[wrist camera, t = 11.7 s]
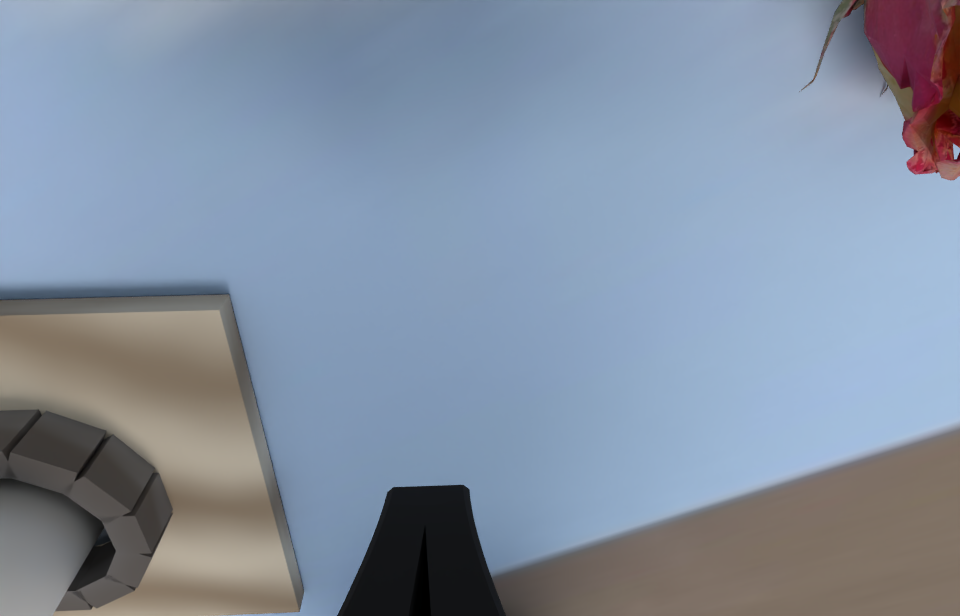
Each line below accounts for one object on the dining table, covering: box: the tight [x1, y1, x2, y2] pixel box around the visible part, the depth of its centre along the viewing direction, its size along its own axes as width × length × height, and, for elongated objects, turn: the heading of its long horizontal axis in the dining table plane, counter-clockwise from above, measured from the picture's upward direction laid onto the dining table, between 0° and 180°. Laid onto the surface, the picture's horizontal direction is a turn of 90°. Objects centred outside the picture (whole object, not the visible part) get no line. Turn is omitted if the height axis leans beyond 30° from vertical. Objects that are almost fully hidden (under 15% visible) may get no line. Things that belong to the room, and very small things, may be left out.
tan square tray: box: [0, 294, 304, 616], centre depth 23 cm, size 16×16×3 cm
